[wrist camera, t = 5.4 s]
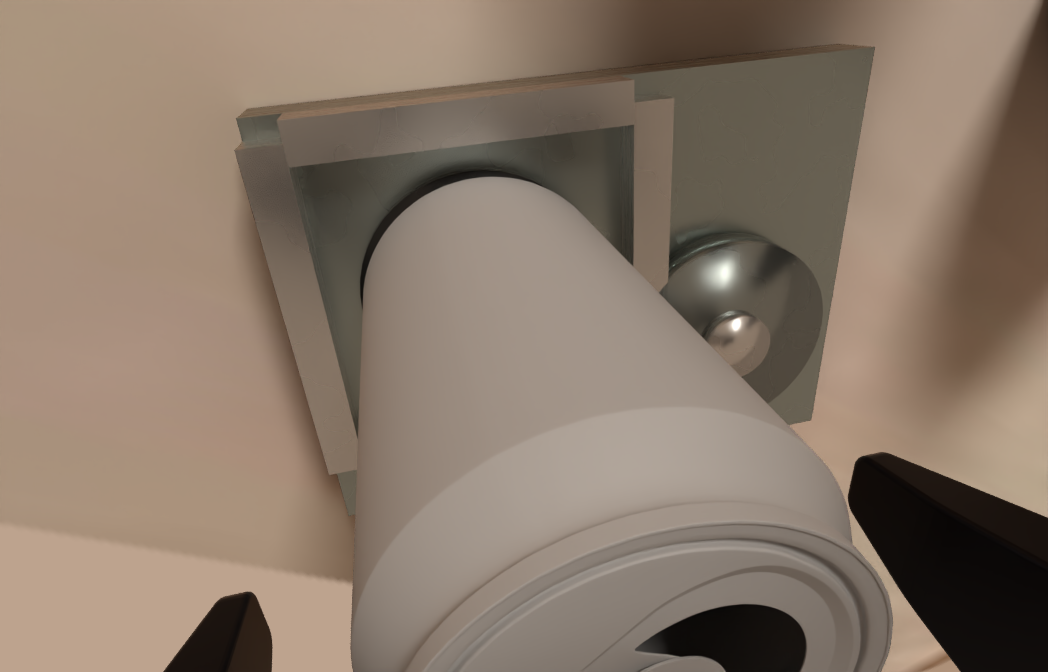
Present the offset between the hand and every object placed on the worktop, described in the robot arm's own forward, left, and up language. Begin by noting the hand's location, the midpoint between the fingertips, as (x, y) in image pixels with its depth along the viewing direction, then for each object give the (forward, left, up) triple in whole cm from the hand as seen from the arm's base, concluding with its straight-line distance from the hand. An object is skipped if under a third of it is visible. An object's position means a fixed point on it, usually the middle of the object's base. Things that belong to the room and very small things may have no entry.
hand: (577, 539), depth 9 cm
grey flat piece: (-3, +1, -11) cm, 11 cm away
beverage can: (0, 0, -9) cm, 9 cm away
